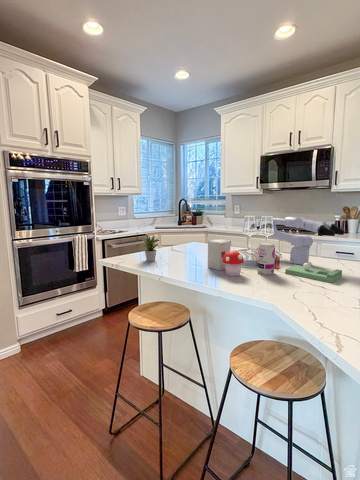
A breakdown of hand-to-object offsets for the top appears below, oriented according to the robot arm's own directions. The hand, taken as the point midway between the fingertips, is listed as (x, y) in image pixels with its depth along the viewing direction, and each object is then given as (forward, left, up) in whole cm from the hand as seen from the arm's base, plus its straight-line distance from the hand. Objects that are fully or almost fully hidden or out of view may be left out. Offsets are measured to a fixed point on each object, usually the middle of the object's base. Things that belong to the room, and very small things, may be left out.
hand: (339, 233), depth 137 cm
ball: (-9, -15, -16) cm, 23 cm away
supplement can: (-24, -28, -20) cm, 41 cm away
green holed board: (-6, -15, -20) cm, 25 cm away
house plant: (-86, -54, -20) cm, 103 cm away
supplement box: (-47, -37, -20) cm, 63 cm away
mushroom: (-34, -42, -20) cm, 57 cm away
